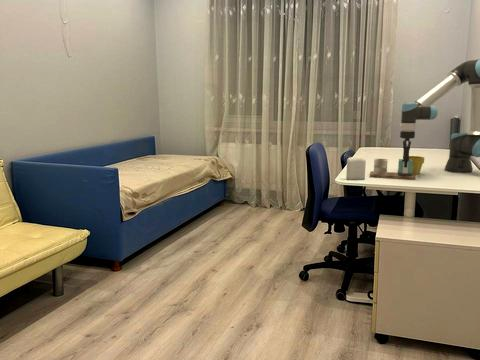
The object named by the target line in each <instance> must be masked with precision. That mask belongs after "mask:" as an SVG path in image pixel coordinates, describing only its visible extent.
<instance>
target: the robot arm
mask: <svg viewBox="0 0 480 360" xmlns="http://www.w3.org/2000/svg"><path fill="white" fill-rule="evenodd" d="M467 82H468V86H469V87H470V113H469V130H468V131H467V132H458V133H456V132H455V133H452V134H451V135H450V139H449V140H450V143H449V154H448V159H447V161H446V164H445V166H444V171H446V172H451V173H459V174H460V173H461V174H462V173H463V174H465V173H466V174H467V173H468V174H469V173H473V170H474V168H473V164H472V160H471V157H474V158H480V59H471V60H467V61H464V62H462V63H460V64H459V65H458V66H456V67H454V68H453V69H452V70H451V71H450V72H448V73H447V74H446V77H445V78H443V79H442V80H441V81H440V82H438V83H437V84H435V86H433V87H432V88H431V89H430V90H428V91H426V92H425V93H424V94H423V95H421V96H420V97H419V98H418V99H417V100H415V101H411V102H403V103H402V104H401V105H402V106H401V118H400V119H401V121H400V124H399V127H400V130H401V131H400V133H399V134H400V135H399V137H400V138H401V139H404V140H403V141H402V148H403V152H402V153H403V154H402V159H404V160H402V161H403V171H402V173H408V162H409V156H410V149H411V144H412V141H411V140H410V139H415V136H416V128H417V127H416V124H417V121H419V120H428V121H429V120H430V121H431V120H436V118H437V116H438V113H439V112H438V108H437V107H436V106H435V105H434V104H435V103H436V102H438V101H439V100H441V98H443V97H444V96H446V95H447V94H448V93H449V92H450V91H452V90H453V89H454V88H456V87H459V86H461V85H462V84H465V83H467Z"/></svg>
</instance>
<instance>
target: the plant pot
mask: <svg viewBox="0 0 480 360" xmlns="http://www.w3.org/2000/svg"><path fill="white" fill-rule="evenodd" d="M409 159H412V161H413V163H412V173H413V174H415V175H419V174H420V173H421V169H422V167H423V164H424V163H425V157H423V156H419V155H409Z"/></svg>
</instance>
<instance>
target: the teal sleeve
mask: <svg viewBox="0 0 480 360" xmlns="http://www.w3.org/2000/svg"><path fill="white" fill-rule="evenodd" d="M402 160H404V159H403V158H399V159H398V165H397V173H398V175H406V176H412V163H413V161H412V159H409V162H408V173H402V171H403V161H402Z"/></svg>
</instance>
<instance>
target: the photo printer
mask: <svg viewBox="0 0 480 360" xmlns="http://www.w3.org/2000/svg"><path fill="white" fill-rule="evenodd" d="M366 166H367V164H366V158H365V157H362V156H351V157H348V158H347V160H346V175H345V176H346V178H345V179H346V180H348V179H352V180H366Z"/></svg>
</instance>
